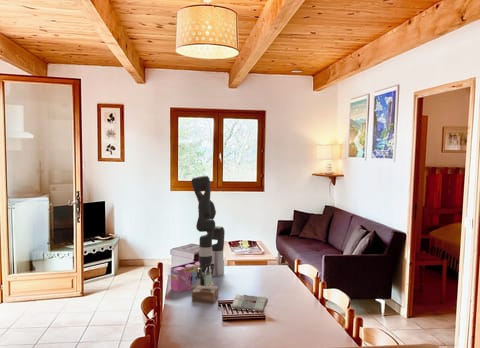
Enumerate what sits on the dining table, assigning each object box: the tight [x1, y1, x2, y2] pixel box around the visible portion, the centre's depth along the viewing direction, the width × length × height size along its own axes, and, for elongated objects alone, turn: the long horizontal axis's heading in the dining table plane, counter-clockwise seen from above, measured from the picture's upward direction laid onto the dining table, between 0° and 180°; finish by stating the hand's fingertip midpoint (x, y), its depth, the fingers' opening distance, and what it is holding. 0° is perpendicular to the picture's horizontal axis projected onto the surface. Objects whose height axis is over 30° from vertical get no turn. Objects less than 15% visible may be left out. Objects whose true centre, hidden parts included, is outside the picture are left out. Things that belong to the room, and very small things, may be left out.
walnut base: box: [191, 285, 219, 305], centre depth 210 cm, size 12×12×6 cm
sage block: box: [199, 273, 213, 287], centre depth 209 cm, size 5×5×6 cm
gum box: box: [170, 260, 203, 293], centre depth 230 cm, size 24×8×14 cm, turn 136°
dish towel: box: [230, 294, 269, 313], centre depth 203 cm, size 19×18×3 cm
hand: (205, 284), depth 210 cm, fingers closed on sage block, 5 cm apart
